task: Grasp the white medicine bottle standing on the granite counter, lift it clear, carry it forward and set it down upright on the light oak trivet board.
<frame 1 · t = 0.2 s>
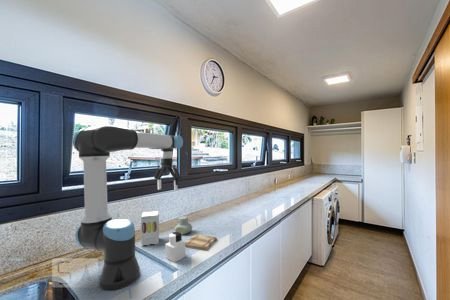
hand: (167, 189, 135), 28 cm above the counter, fingers open, 13 cm apart
supplement box: (150, 242, 119), on the counter
trivet: (200, 243, 116), on the counter
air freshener: (183, 233, 132), on the counter
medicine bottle: (175, 257, 101), on the counter
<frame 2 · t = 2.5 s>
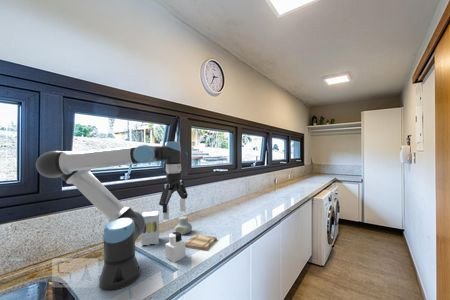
hand: (175, 215, 101), 21 cm above the counter, fingers open, 13 cm apart
nothing on the counter moved.
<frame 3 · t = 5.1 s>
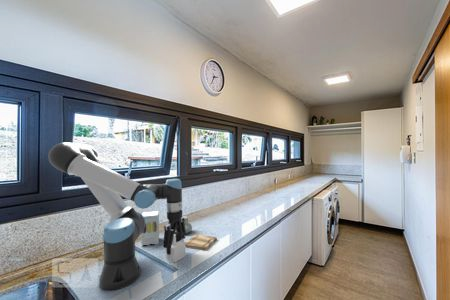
hand: (175, 255, 101), 1 cm above the counter, fingers closed on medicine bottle, 8 cm apart
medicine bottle: (175, 257, 101), on the counter, touching gripper
everything else where it was.
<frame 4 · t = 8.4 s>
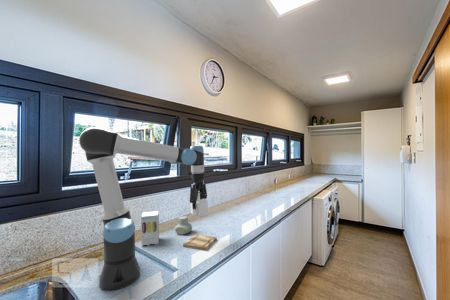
hand: (199, 212, 116), 18 cm above the counter, fingers closed on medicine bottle, 8 cm apart
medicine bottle: (199, 214, 116), point 17 cm above the counter, touching gripper
everything else where it was.
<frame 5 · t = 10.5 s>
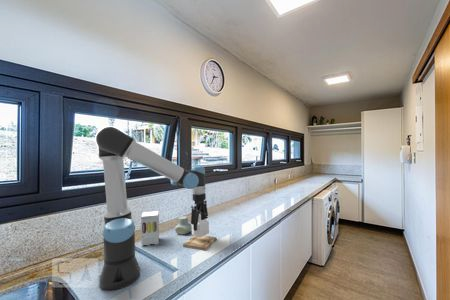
hand: (200, 232, 116), 6 cm above the counter, fingers closed on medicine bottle, 8 cm apart
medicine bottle: (200, 234, 116), point 5 cm above the counter, touching gripper
everything else where it was.
when the fingers open (4 cm above the counter, at t = 11.9 s): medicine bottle drops 1 cm, resting on trivet.
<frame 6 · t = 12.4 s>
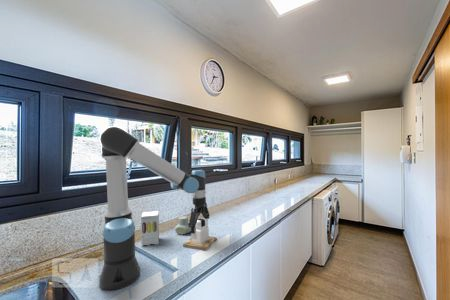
hand: (200, 234, 116), 5 cm above the counter, fingers open, 13 cm apart
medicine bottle: (200, 240, 116), point 1 cm above the counter, touching trivet
everything else where it was.
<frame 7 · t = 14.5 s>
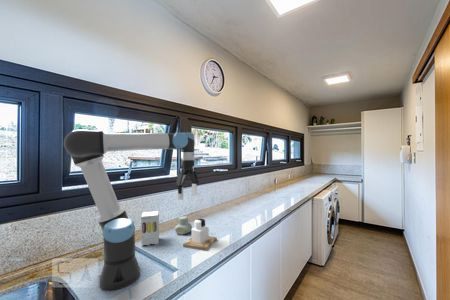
hand: (187, 197, 115), 27 cm above the counter, fingers open, 13 cm apart
nothing on the counter moved.
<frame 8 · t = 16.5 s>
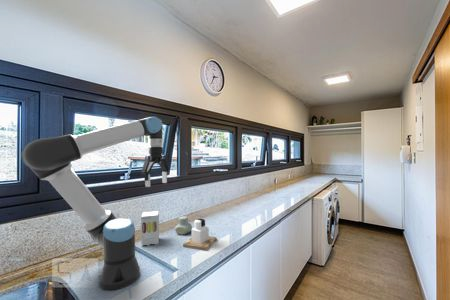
hand: (156, 184, 113), 35 cm above the counter, fingers open, 13 cm apart
nothing on the counter moved.
at the end: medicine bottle inside the target area on the trivet (0.2 cm from its centre), point 1.3 cm above the trivet's base; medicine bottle tilted 0°; the gripper is holding nothing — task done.
